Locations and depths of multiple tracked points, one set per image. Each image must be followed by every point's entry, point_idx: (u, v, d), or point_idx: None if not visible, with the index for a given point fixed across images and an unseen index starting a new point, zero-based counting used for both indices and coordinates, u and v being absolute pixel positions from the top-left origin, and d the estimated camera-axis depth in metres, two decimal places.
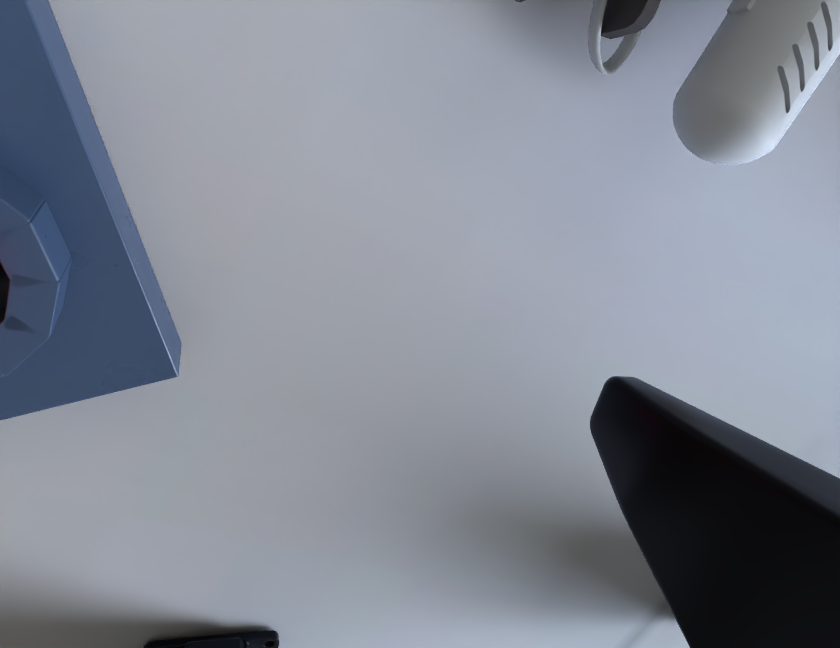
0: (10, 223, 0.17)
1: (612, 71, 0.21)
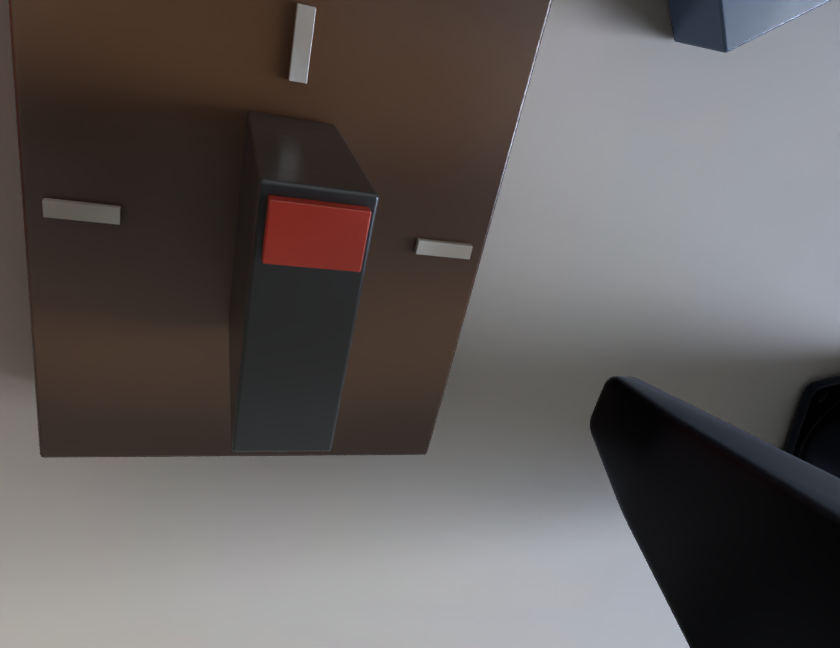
0: None
1: None
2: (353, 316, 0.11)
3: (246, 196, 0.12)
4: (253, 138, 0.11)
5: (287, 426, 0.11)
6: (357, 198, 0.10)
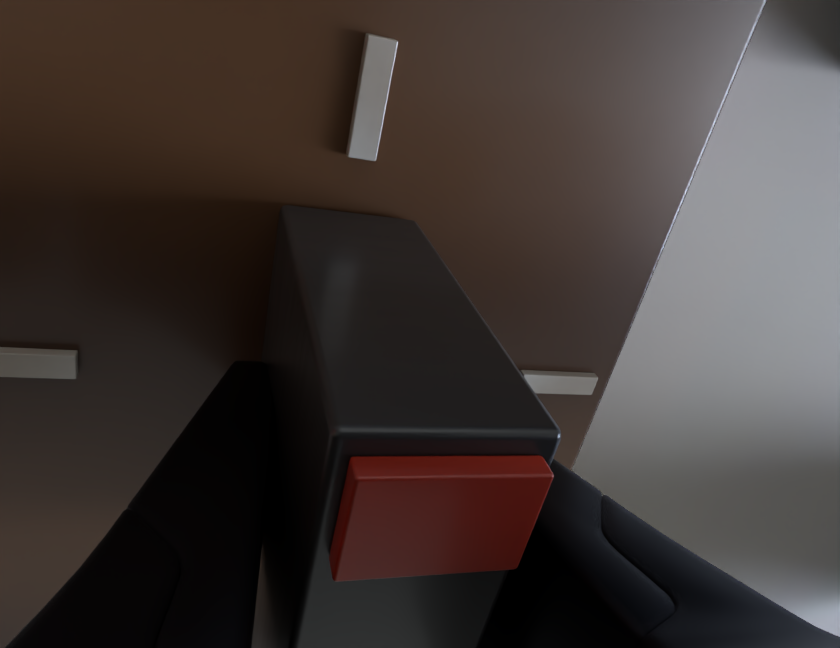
0: None
1: None
2: (486, 617, 0.06)
3: (284, 372, 0.07)
4: (299, 278, 0.06)
5: None
6: (523, 442, 0.05)
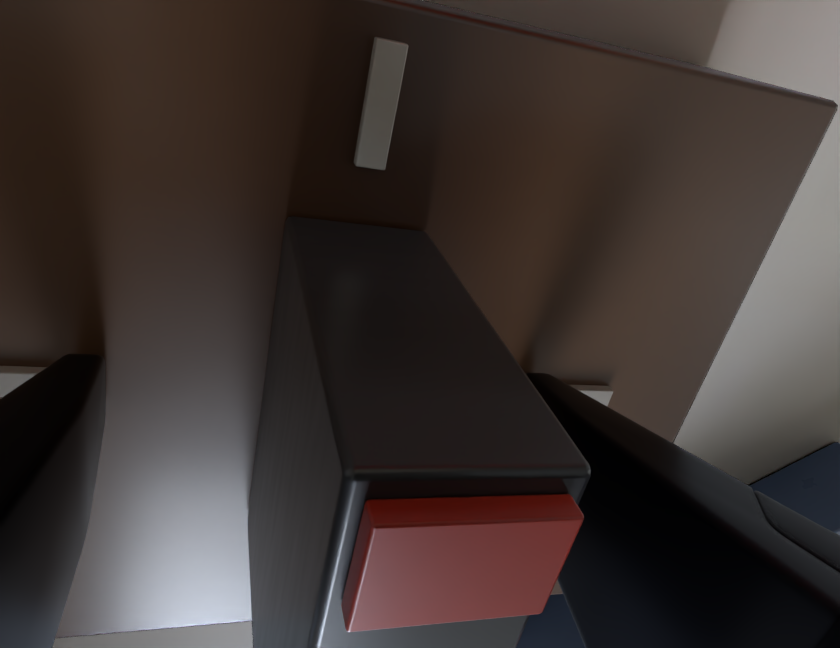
0: None
1: None
2: None
3: (291, 395, 0.06)
4: (307, 297, 0.06)
5: None
6: (550, 481, 0.04)
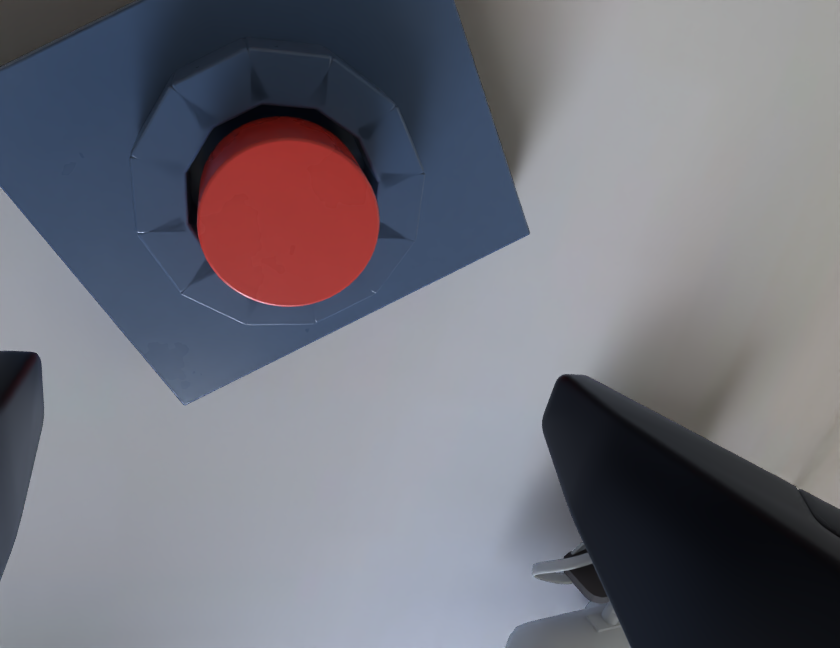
0: (370, 280, 0.17)
1: (535, 576, 0.29)
2: None
3: None
4: None
5: None
6: None
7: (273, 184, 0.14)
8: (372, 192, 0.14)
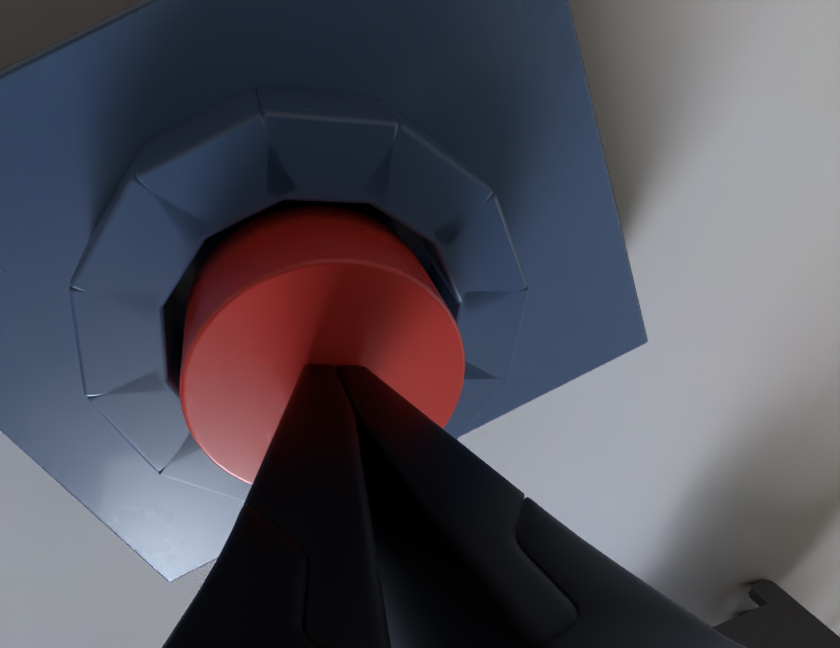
0: None
1: None
2: None
3: None
4: None
5: None
6: None
7: (302, 329, 0.08)
8: (457, 331, 0.09)
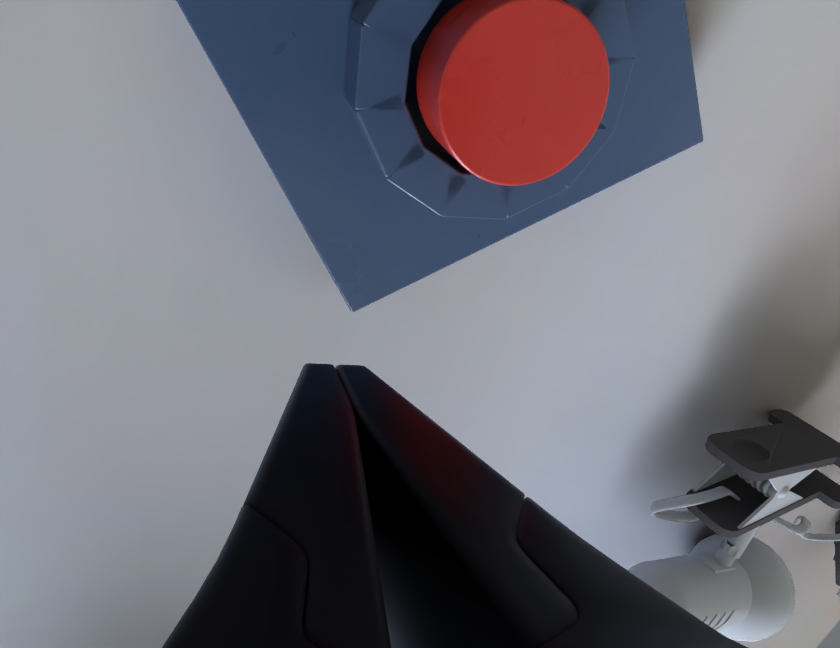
0: (566, 173, 0.17)
1: (654, 514, 0.29)
2: None
3: None
4: None
5: None
6: None
7: (517, 47, 0.14)
8: (607, 62, 0.14)
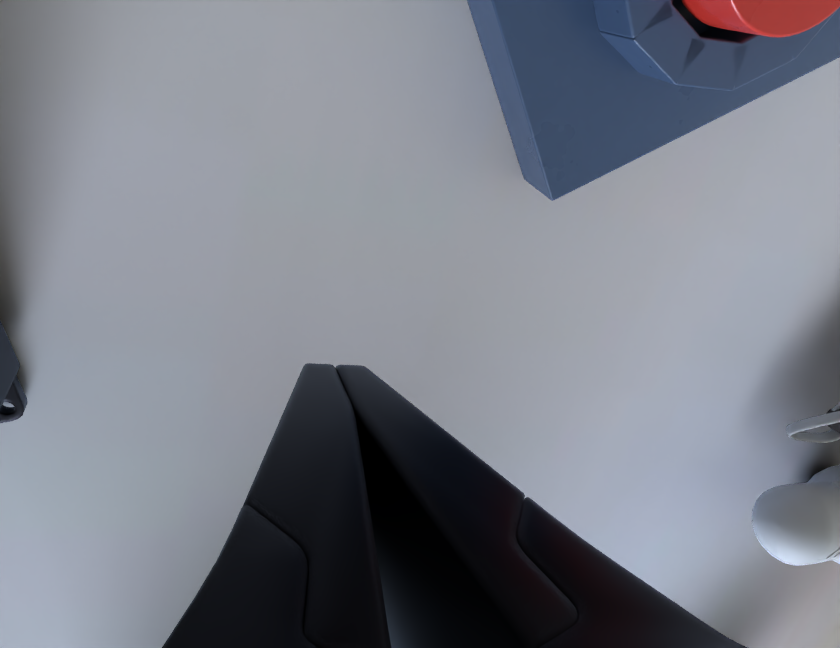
0: (795, 42, 0.17)
1: (791, 436, 0.29)
2: None
3: None
4: None
5: None
6: None
7: None
8: None
